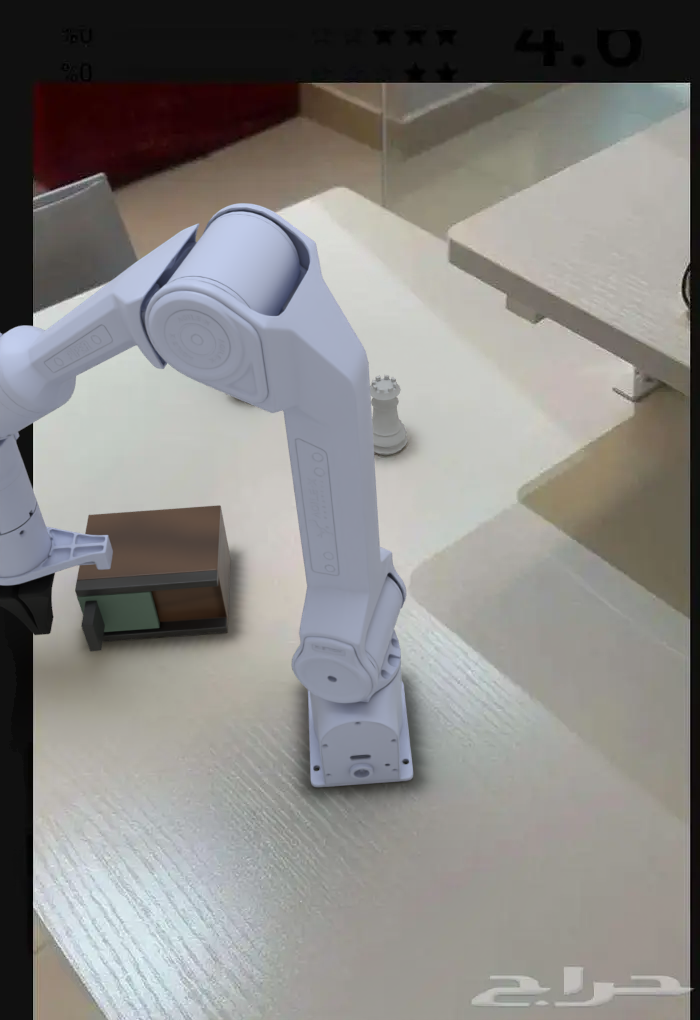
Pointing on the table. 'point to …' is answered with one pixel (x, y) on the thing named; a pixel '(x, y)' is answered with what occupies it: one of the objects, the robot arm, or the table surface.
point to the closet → (165, 568)
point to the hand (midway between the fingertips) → (43, 625)
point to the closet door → (116, 615)
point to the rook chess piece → (386, 416)
